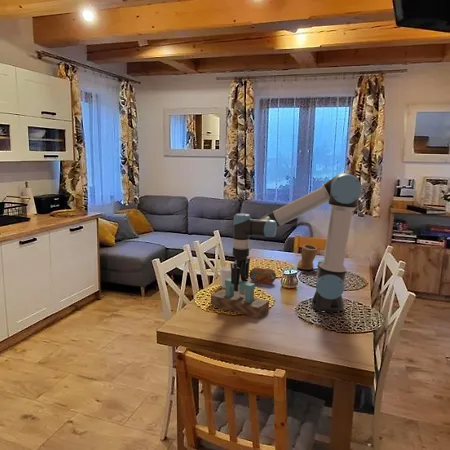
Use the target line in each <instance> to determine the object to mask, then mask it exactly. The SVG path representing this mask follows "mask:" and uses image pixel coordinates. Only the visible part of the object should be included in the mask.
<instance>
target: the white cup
mask: <svg viewBox="0 0 450 450" xmlns="http://www.w3.org/2000/svg"><path fill="white" fill-rule="evenodd" d="M219 271H220V272H219V276H220V288H223V289H225V280H226V279H229V278H231V266H221V267H220V269H219Z"/></svg>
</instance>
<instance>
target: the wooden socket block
mask: <svg viewBox="0 0 450 450" xmlns="http://www.w3.org/2000/svg"><path fill="white" fill-rule="evenodd" d="M211 304H212V305H215V306H214V307H216V306H218V307H217V308H219V307H221V308H220V309H223V308H224V309H223V310H226V309H227V311H231V312H234V313H236V314H240V315H244V316H246V317H247V316H248V317H250V318H254V319H259V318H260V317H263V316H264V315H266V314H268V313H269V309H270V301H269V300H264V299H261V298H257V297H254V301H253V302H252V303H246V302H245V295H241V294H240V298H236V297H234V296H233V297H231V298H228V297H225V289H221V290H219V291H217V292H214V293H212V294H211V295H210V305H211ZM212 305H211V306H212Z"/></svg>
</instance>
